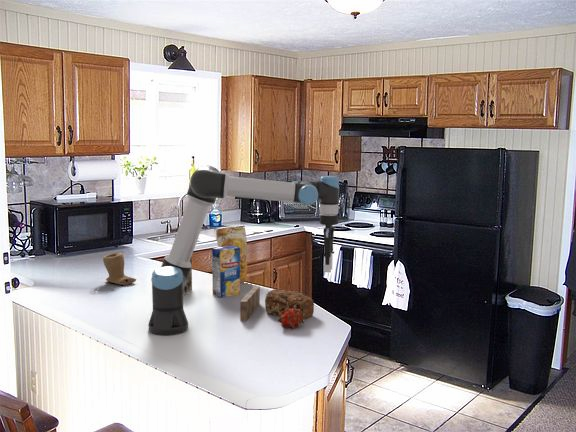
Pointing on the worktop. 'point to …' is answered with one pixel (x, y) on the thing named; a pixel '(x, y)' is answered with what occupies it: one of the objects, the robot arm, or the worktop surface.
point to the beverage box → (226, 271)
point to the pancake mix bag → (237, 239)
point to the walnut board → (249, 303)
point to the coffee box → (188, 282)
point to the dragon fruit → (292, 318)
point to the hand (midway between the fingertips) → (328, 270)
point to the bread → (288, 302)
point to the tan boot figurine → (116, 269)
